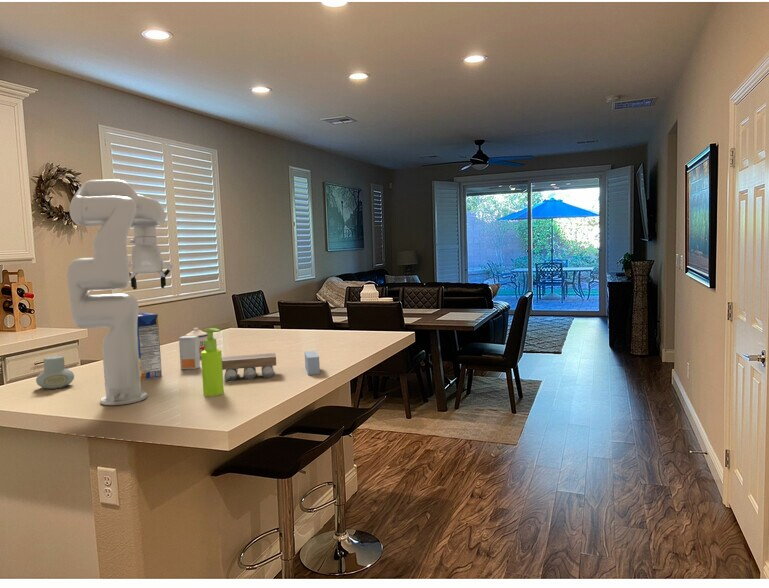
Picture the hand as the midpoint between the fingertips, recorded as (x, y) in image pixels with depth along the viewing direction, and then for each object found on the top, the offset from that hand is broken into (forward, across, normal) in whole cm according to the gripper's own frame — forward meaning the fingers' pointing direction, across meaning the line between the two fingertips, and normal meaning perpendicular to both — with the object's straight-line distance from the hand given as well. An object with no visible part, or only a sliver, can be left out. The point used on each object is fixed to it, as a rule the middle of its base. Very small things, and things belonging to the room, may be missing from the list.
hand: (149, 288), depth 206 cm
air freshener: (+31, -28, -17) cm, 45 cm away
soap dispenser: (+31, +25, -46) cm, 61 cm away
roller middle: (+31, +35, -25) cm, 53 cm away
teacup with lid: (+31, +14, +26) cm, 43 cm away
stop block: (+31, +56, -25) cm, 69 cm away
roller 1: (+31, +29, -25) cm, 49 cm away
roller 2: (+31, +41, -25) cm, 57 cm away
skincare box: (+31, +13, -2) cm, 33 cm away
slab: (+27, +35, -25) cm, 51 cm away
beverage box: (+31, -1, -10) cm, 32 cm away
